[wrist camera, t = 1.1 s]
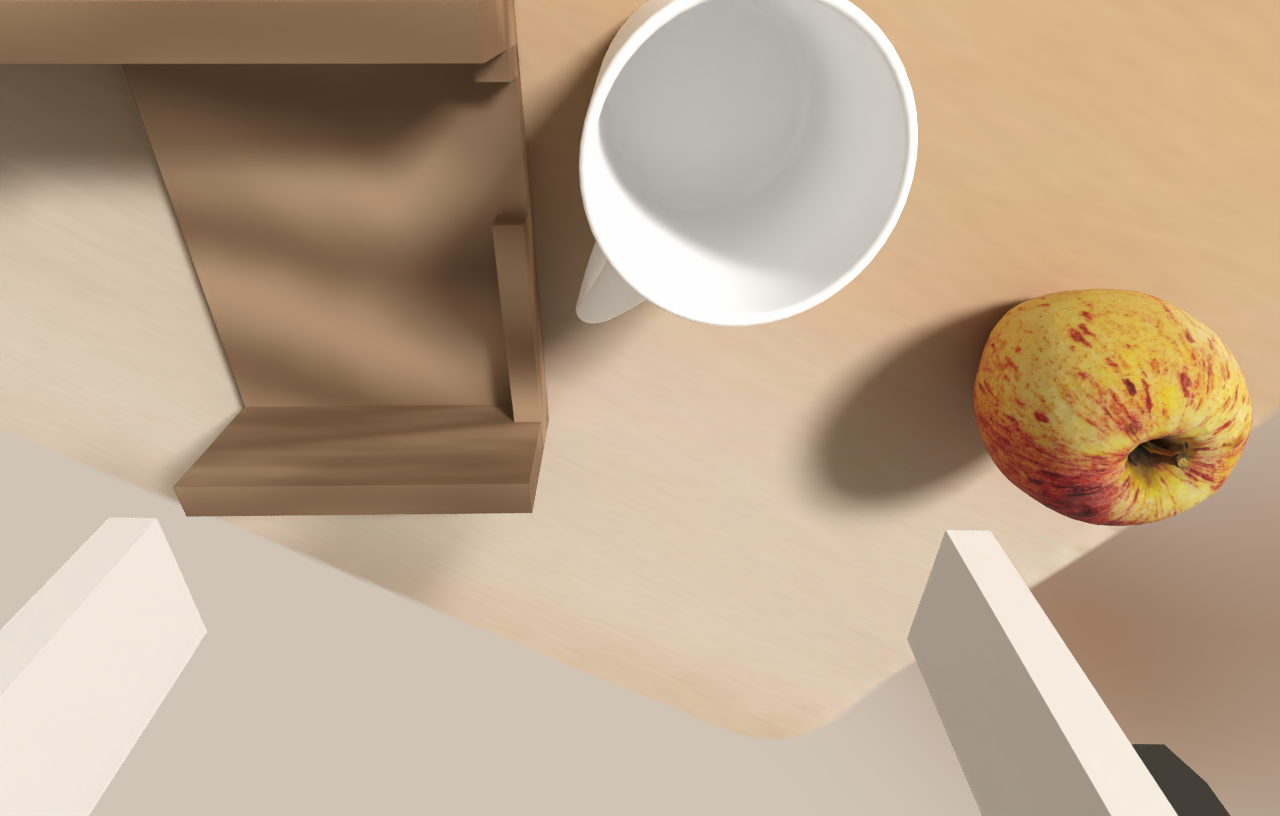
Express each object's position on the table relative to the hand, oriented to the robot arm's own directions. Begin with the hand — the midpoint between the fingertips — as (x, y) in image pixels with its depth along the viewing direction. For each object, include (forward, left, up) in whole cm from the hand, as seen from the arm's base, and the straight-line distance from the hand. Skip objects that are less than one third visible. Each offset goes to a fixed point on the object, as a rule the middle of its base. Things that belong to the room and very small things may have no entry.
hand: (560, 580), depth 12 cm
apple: (+6, +20, -20) cm, 29 cm away
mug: (-3, +3, -20) cm, 21 cm away
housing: (+1, -10, -20) cm, 22 cm away
